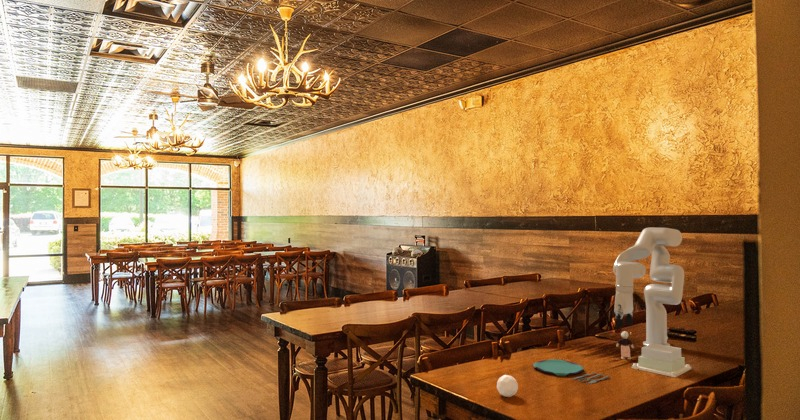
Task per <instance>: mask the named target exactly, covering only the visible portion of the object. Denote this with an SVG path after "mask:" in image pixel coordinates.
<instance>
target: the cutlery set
mask: <svg viewBox="0 0 800 420" xmlns="http://www.w3.org/2000/svg"><path fill="white" fill-rule="evenodd" d="M532 365H533V368H535V369H537V370H538V371H541V372H544V373H546V374H547V373H548V374H552V375H556V376H557V377H566V376H573V375H577V374H579V373H582V372H583V373H584V372H585V369H584V366H582V364H581V365H580V364H578V363H575V362H572V361H571V362H570V361H566V360H564V359H553V358H550V359H547V360H546V359H544V360H539V361H537V362H533V364H532ZM591 375H593V376H591ZM589 376H591V377H589ZM601 376H603V373H601V372H600V373H598V374H597V373H596V372H592V373H588V374H587V373H586V374H583V375H581V376H576V377H573V379H572V380H573V381H575V380H578V382H581V383H585V384H586V385H588V384H587V383H591V384H590V385H593V384H592V383H594V384H597V382H601V381H600V380H602V381H604V380H607V379H610V376H609V375H606V376H604V377H602V378H598V377H601ZM595 378H598V379H595ZM584 379H586V380H584ZM583 380H584V381H583Z"/></svg>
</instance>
